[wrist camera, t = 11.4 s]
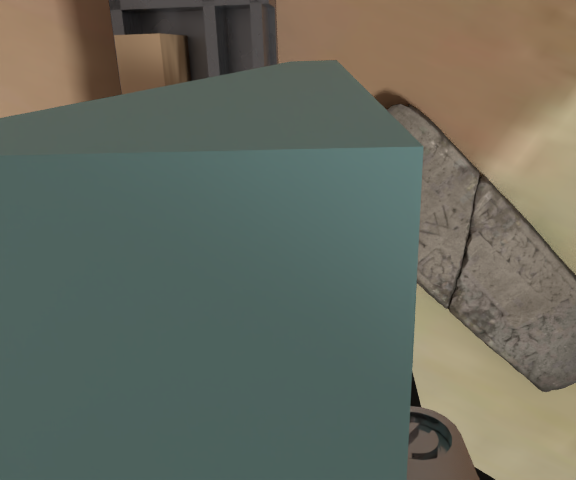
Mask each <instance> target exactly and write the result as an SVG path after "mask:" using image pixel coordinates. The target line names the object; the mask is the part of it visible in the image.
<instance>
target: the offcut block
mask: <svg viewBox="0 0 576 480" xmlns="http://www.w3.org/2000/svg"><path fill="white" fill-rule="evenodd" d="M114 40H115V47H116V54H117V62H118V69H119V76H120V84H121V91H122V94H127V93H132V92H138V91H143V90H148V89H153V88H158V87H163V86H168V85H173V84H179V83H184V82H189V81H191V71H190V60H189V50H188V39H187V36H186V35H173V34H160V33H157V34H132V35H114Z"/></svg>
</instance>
